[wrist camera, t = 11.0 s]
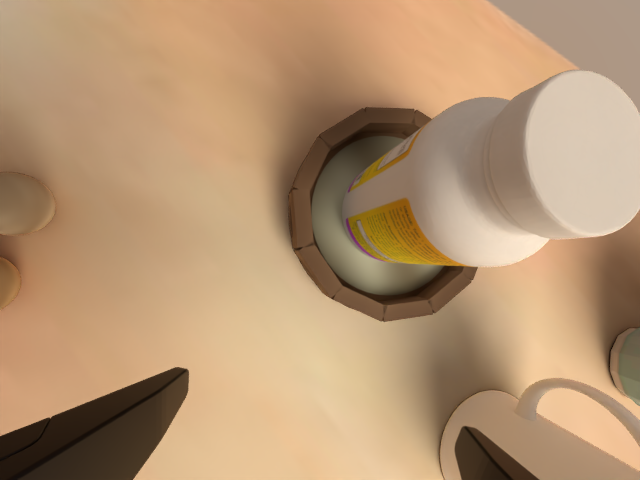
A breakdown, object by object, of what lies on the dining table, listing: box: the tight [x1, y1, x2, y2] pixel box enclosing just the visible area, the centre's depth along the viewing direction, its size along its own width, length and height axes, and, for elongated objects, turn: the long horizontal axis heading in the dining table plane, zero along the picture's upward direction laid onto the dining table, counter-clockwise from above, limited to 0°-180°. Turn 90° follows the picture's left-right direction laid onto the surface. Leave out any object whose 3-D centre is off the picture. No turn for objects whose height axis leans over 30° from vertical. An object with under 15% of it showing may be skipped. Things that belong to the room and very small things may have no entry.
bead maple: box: [0, 172, 56, 236], centre depth 15 cm, size 3×3×3 cm
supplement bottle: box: [342, 70, 640, 267], centre depth 14 cm, size 7×7×13 cm
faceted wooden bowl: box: [288, 107, 478, 322], centre depth 20 cm, size 14×14×2 cm
